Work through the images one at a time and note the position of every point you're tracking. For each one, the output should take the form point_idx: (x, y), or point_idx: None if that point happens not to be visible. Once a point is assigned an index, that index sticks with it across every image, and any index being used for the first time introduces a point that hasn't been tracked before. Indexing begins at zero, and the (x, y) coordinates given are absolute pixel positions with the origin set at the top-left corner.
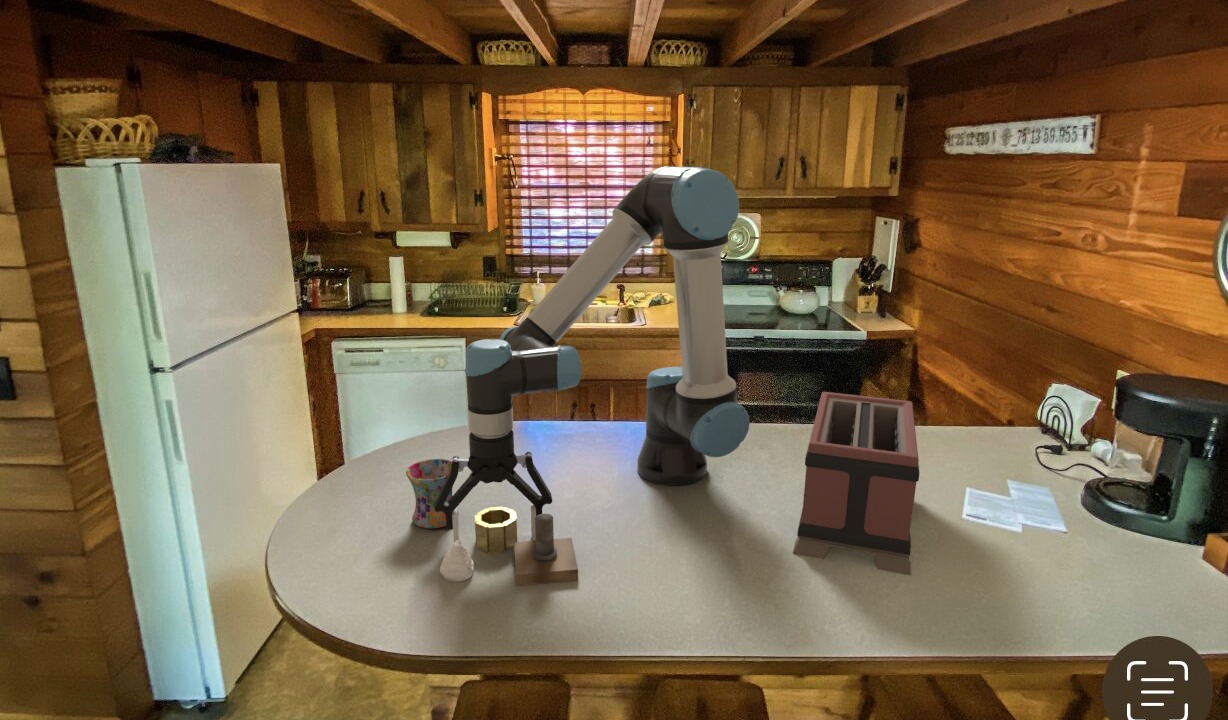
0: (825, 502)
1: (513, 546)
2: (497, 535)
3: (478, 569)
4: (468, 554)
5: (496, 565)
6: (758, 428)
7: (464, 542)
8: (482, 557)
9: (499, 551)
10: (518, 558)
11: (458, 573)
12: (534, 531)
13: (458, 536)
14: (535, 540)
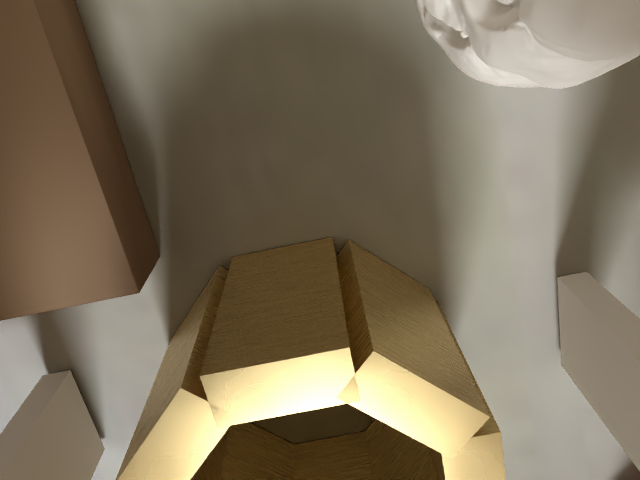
0: None
1: (184, 319)
2: (267, 316)
3: (374, 21)
4: (485, 22)
5: (248, 85)
6: None
7: (522, 350)
8: (373, 185)
9: (265, 253)
10: (17, 43)
11: None
12: (18, 429)
13: (584, 358)
14: (44, 382)
